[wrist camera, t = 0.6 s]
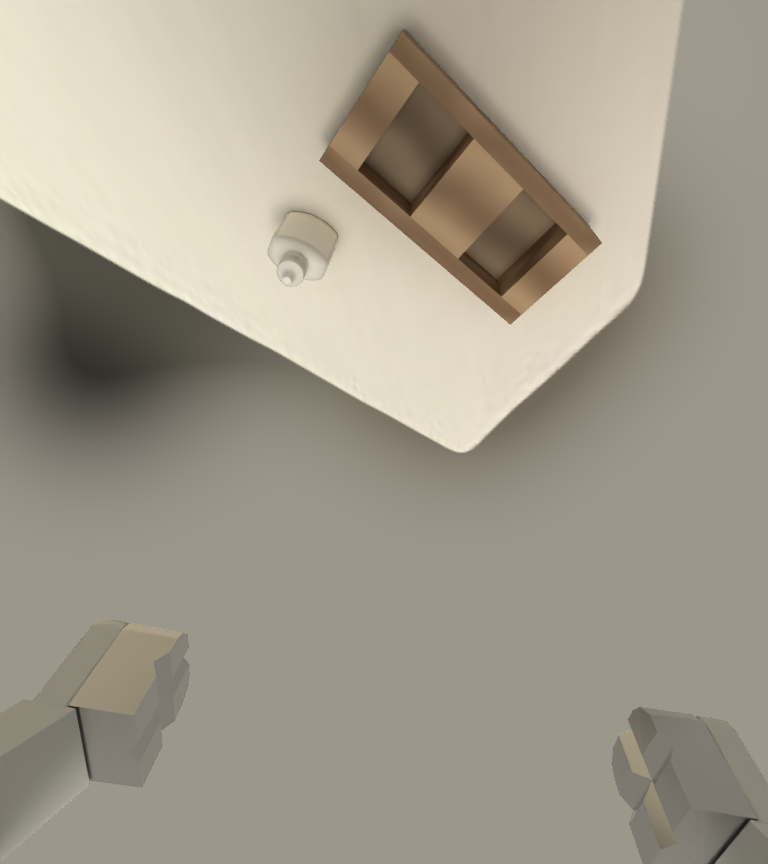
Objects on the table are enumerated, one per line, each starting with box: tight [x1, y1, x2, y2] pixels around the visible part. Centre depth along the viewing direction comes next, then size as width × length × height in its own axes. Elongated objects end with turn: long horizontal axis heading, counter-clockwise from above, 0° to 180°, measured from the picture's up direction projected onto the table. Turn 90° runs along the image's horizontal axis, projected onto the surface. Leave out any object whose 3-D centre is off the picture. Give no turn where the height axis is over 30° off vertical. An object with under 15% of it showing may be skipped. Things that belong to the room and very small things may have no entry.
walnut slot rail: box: [319, 29, 601, 324], centre depth 45 cm, size 11×24×5 cm, turn 51°
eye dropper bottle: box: [268, 212, 338, 287], centre depth 46 cm, size 4×6×12 cm
